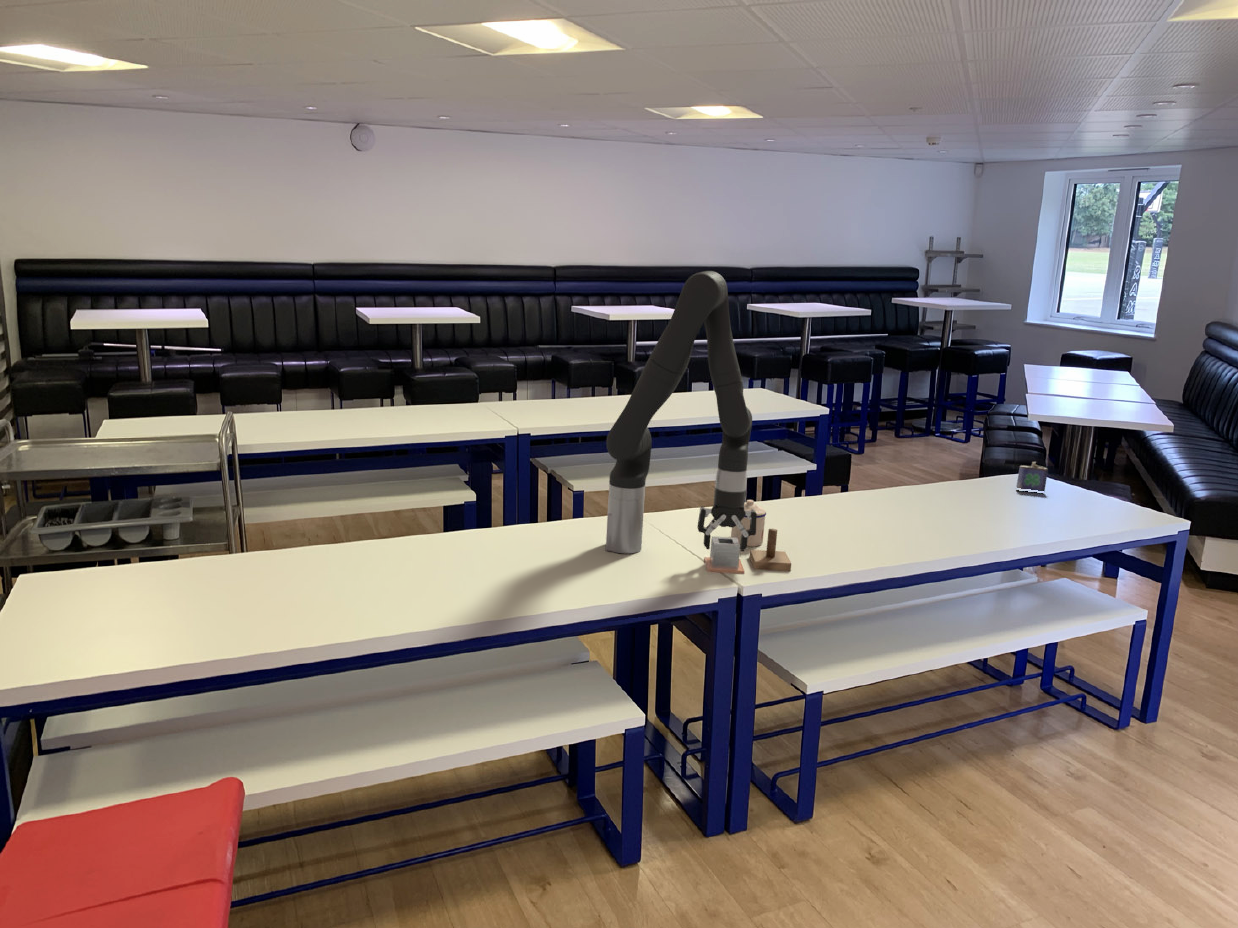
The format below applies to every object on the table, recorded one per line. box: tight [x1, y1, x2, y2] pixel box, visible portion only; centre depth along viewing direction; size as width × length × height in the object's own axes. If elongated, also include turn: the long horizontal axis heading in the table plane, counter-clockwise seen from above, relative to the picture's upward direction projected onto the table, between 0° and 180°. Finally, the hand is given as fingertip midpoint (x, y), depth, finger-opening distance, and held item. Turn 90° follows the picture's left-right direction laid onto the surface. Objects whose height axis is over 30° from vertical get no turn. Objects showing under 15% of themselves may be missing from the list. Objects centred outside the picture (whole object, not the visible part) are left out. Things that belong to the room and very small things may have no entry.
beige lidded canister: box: [730, 499, 767, 548], centre depth 251 cm, size 12×9×12 cm
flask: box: [1016, 461, 1049, 492], centre depth 321 cm, size 9×3×11 cm, turn 75°
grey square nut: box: [709, 536, 741, 569], centre depth 230 cm, size 6×6×6 cm
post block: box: [749, 528, 792, 572], centre depth 233 cm, size 9×9×9 cm
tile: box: [703, 556, 745, 574], centre depth 231 cm, size 9×9×1 cm
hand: (724, 549), depth 230 cm, fingers open, 8 cm apart
